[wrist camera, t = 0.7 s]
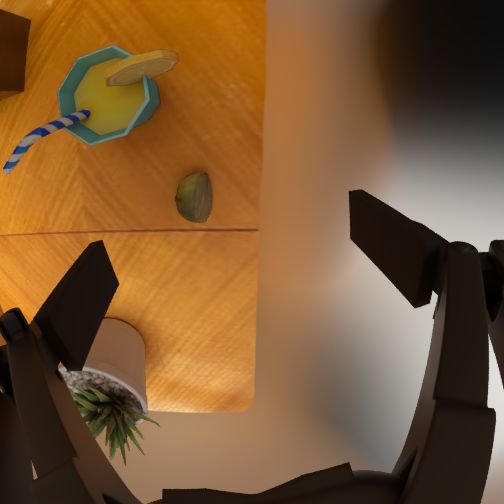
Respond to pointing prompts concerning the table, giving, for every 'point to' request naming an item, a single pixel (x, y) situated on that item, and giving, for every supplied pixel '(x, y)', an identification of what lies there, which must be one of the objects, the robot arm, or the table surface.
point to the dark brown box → (12, 53)
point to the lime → (195, 198)
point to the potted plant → (112, 384)
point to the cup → (104, 97)
